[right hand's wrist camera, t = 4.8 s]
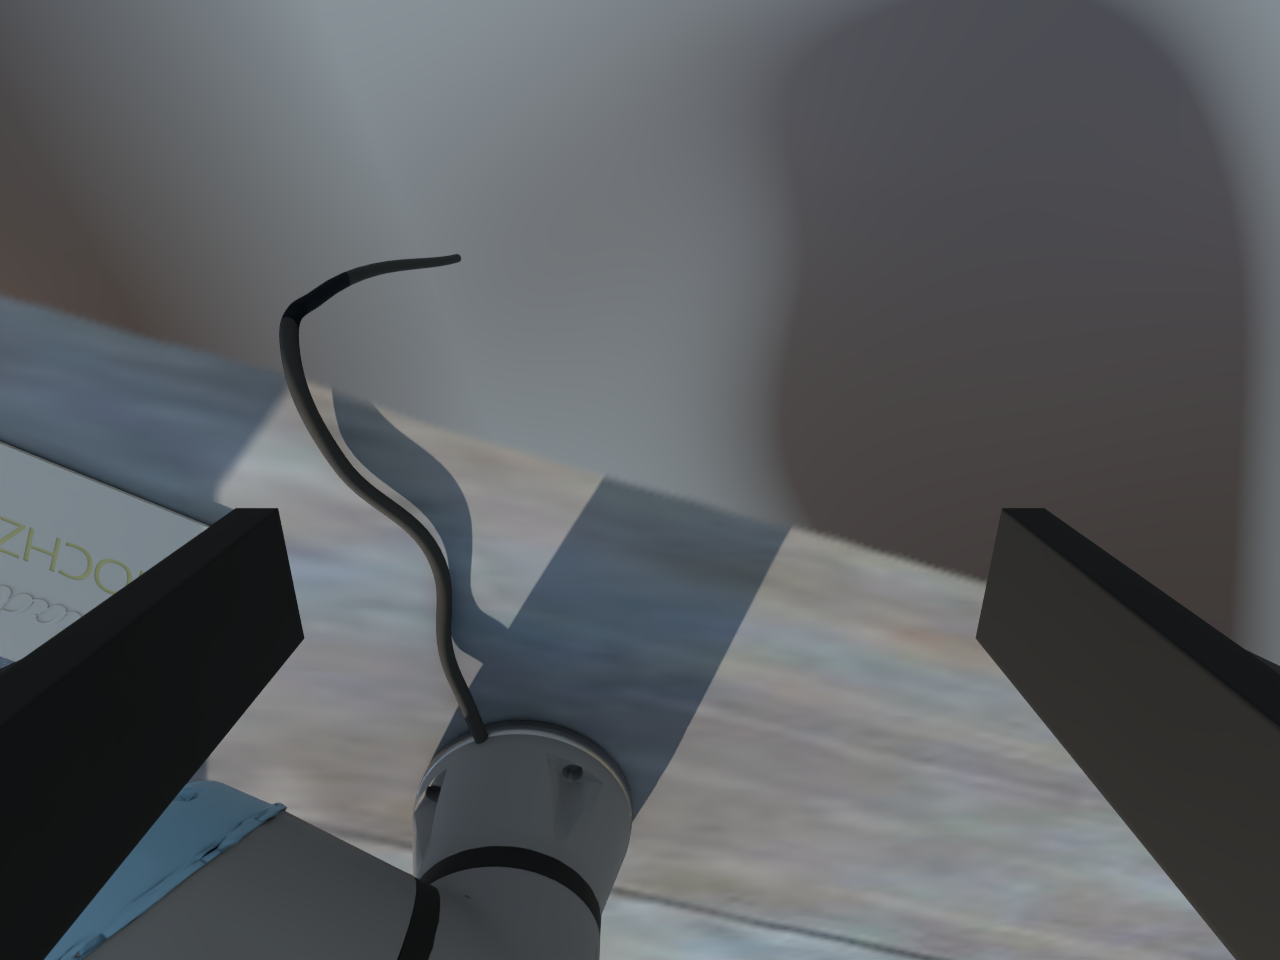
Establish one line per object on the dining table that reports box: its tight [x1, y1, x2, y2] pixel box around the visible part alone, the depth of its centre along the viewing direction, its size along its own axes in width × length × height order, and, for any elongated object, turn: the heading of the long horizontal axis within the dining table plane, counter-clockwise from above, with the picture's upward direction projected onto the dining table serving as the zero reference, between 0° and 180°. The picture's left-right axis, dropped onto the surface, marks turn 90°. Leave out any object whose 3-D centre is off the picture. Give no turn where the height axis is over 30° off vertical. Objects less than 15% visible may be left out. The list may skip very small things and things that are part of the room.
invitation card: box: [0, 442, 210, 662], centre depth 42 cm, size 21×1×15 cm
